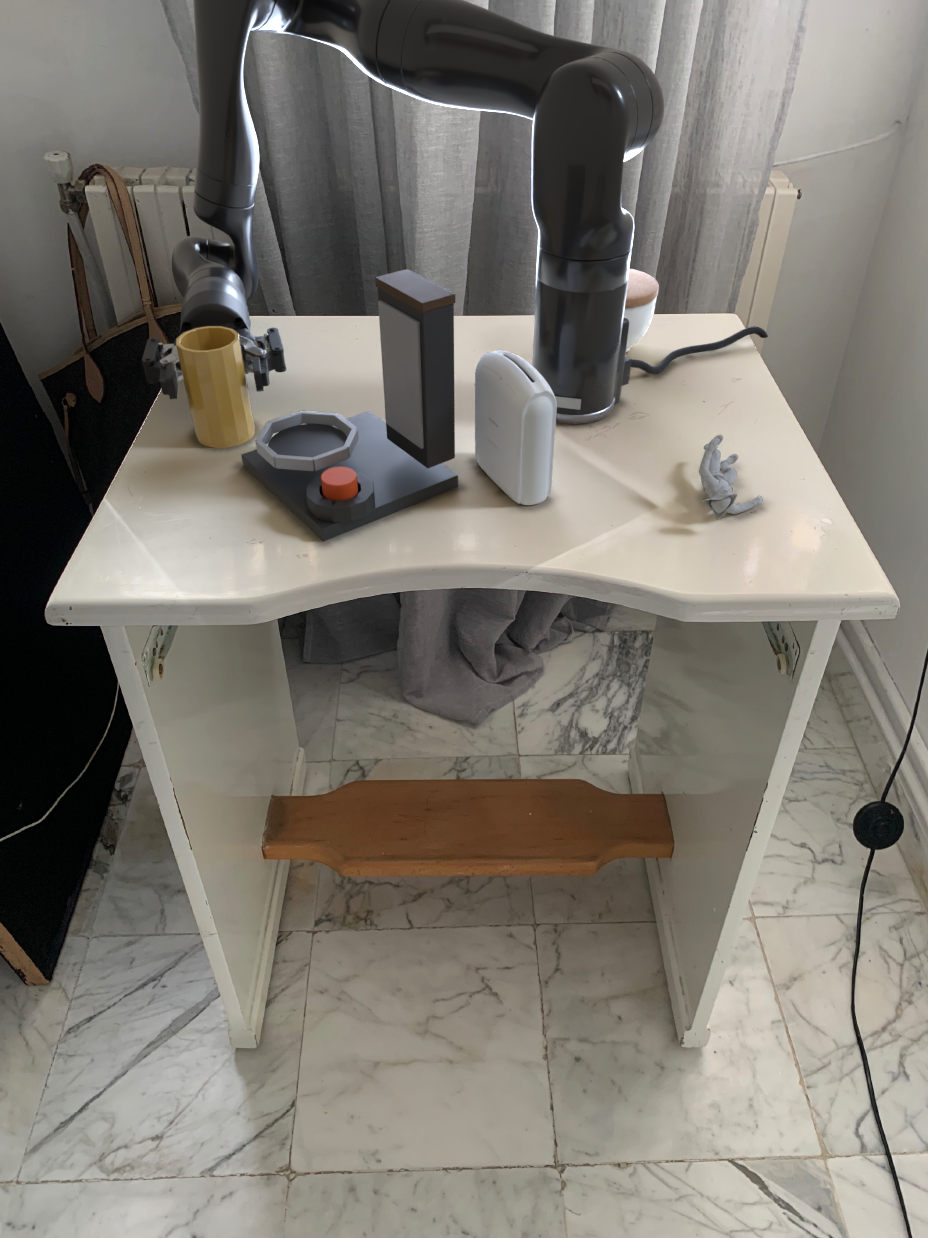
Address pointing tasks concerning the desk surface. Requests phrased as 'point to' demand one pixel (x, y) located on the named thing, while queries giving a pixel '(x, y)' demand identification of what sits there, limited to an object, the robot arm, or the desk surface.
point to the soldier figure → (721, 481)
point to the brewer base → (380, 478)
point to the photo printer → (514, 426)
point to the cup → (216, 386)
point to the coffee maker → (388, 386)
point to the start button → (339, 483)
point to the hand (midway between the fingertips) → (215, 386)
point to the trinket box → (639, 304)
